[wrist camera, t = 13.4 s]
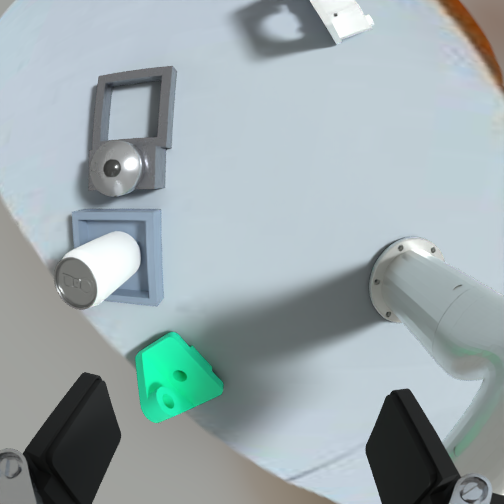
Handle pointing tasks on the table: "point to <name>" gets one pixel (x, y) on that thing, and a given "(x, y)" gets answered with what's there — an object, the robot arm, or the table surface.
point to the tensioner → (131, 150)
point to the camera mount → (173, 378)
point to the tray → (147, 237)
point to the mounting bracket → (342, 18)
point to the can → (96, 269)
